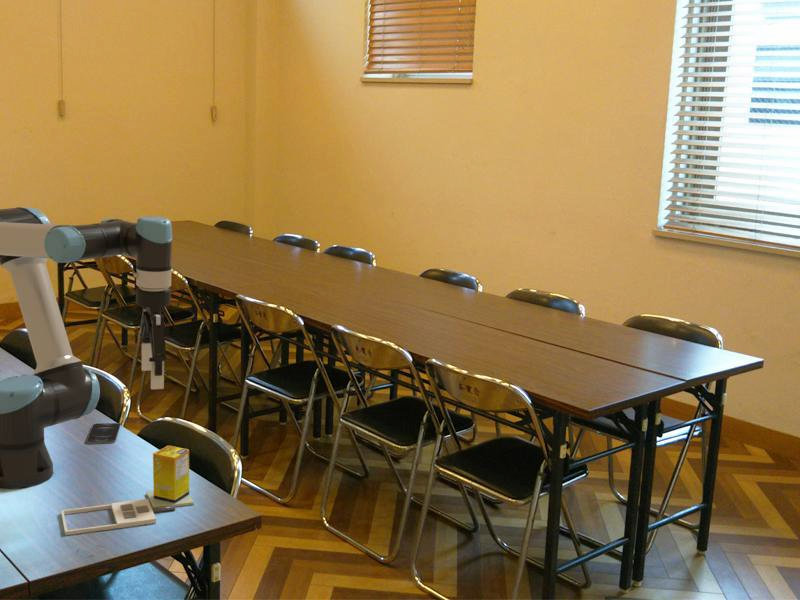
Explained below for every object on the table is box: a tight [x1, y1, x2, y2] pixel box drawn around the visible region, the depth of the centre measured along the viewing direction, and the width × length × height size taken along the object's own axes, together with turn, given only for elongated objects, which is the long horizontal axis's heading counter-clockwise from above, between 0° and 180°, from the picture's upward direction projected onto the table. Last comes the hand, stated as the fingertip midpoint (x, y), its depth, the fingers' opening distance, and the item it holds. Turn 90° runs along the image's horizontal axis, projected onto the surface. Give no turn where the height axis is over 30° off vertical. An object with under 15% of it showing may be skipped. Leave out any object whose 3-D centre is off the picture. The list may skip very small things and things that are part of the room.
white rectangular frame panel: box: [60, 498, 176, 536], centre depth 207 cm, size 11×24×1 cm, turn 113°
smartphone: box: [86, 422, 121, 445], centre depth 256 cm, size 8×1×15 cm
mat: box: [146, 490, 195, 509], centre depth 217 cm, size 9×9×1 cm
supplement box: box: [152, 445, 190, 503], centre depth 216 cm, size 6×6×11 cm
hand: (152, 379), depth 215 cm, fingers open, 13 cm apart
